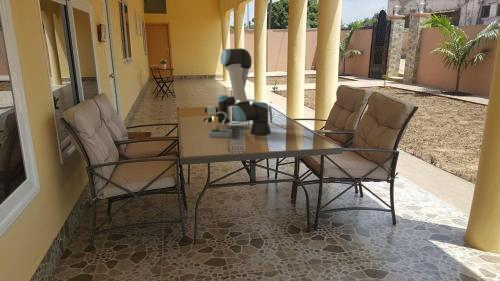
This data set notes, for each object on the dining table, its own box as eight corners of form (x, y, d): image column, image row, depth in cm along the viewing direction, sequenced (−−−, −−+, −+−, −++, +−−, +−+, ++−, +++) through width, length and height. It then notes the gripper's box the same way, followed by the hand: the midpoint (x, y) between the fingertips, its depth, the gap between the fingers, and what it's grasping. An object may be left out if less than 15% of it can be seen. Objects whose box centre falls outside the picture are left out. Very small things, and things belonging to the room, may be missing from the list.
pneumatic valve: (218, 118, 328) (217, 105, 325) (205, 119, 326) (204, 106, 323) (217, 117, 333) (217, 104, 330) (204, 118, 331) (204, 105, 328)
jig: (232, 134, 273) (232, 129, 272) (229, 137, 263) (229, 132, 262) (212, 133, 275) (212, 129, 274) (209, 137, 265) (208, 132, 264)
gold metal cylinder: (219, 134, 271) (218, 116, 268) (218, 136, 267) (217, 117, 263) (213, 134, 272) (212, 116, 268) (212, 136, 268) (211, 117, 264)
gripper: (236, 122, 283) (231, 128, 263) (205, 121, 287) (197, 128, 266) (236, 112, 281) (230, 118, 261) (205, 112, 285) (197, 117, 264)
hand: (214, 123), depth 263 cm, fingers open, 12 cm apart
